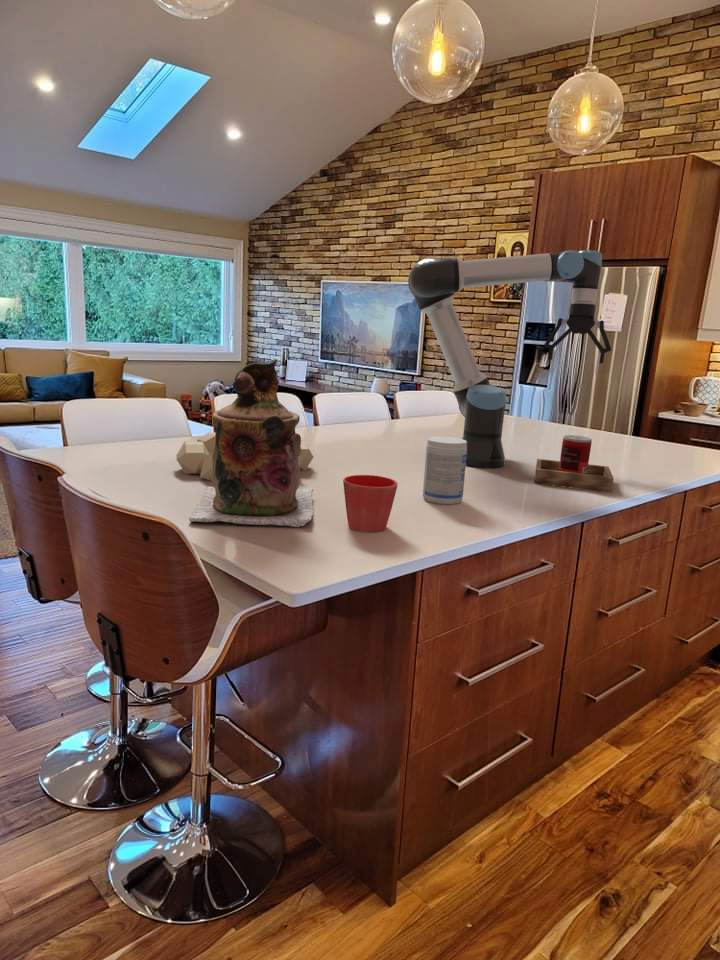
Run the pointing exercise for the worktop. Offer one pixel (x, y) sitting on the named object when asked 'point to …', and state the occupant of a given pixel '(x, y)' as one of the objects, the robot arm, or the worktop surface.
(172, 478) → the worktop surface
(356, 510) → the flower pot
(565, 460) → the canned food
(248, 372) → the cookie jar
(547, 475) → the crate
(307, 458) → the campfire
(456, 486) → the supplement tub
